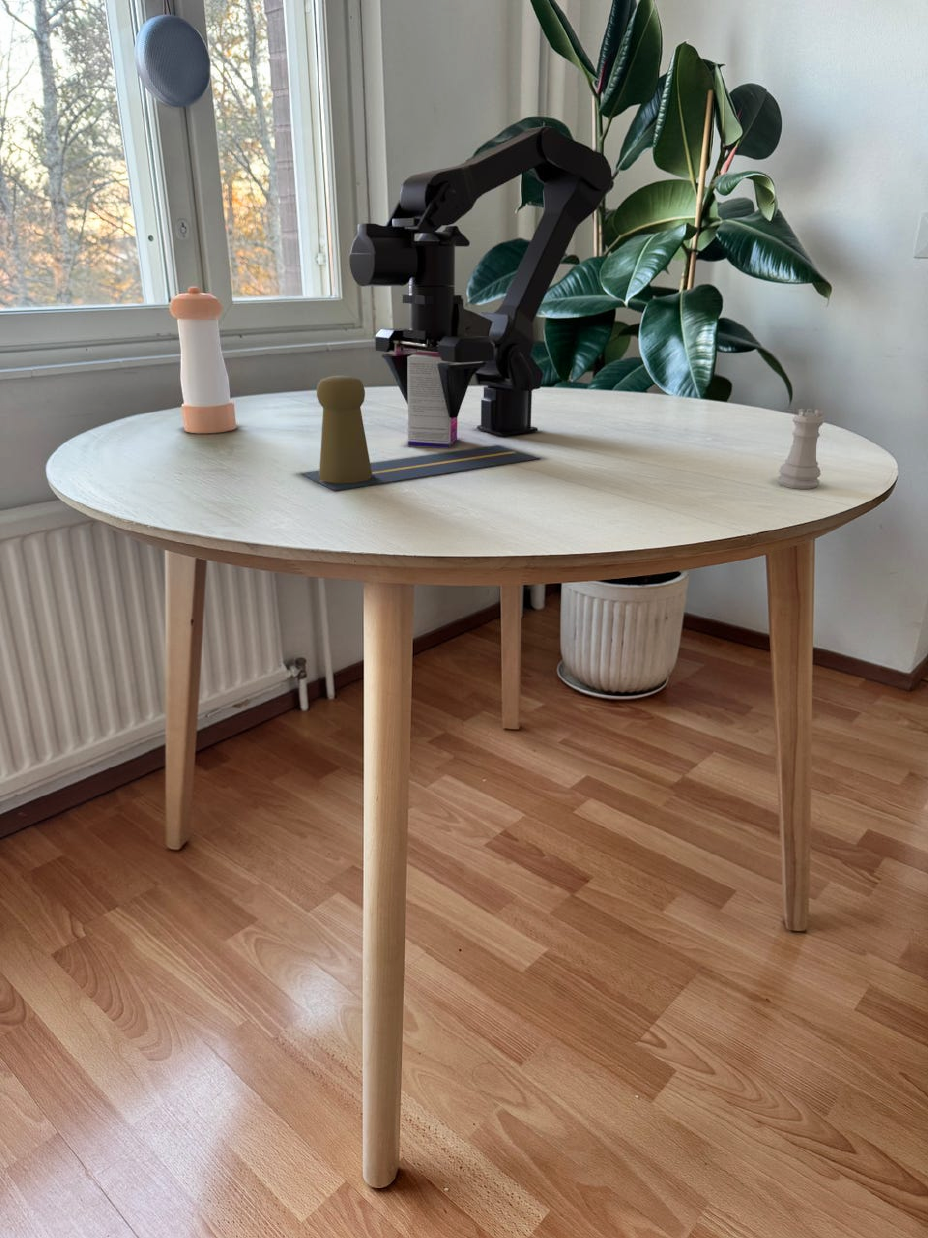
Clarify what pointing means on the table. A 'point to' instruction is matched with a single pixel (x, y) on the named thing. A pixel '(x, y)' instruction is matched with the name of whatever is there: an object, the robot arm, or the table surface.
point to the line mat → (431, 466)
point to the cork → (343, 431)
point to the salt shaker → (202, 364)
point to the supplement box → (428, 404)
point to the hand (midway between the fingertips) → (432, 412)
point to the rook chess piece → (803, 452)
